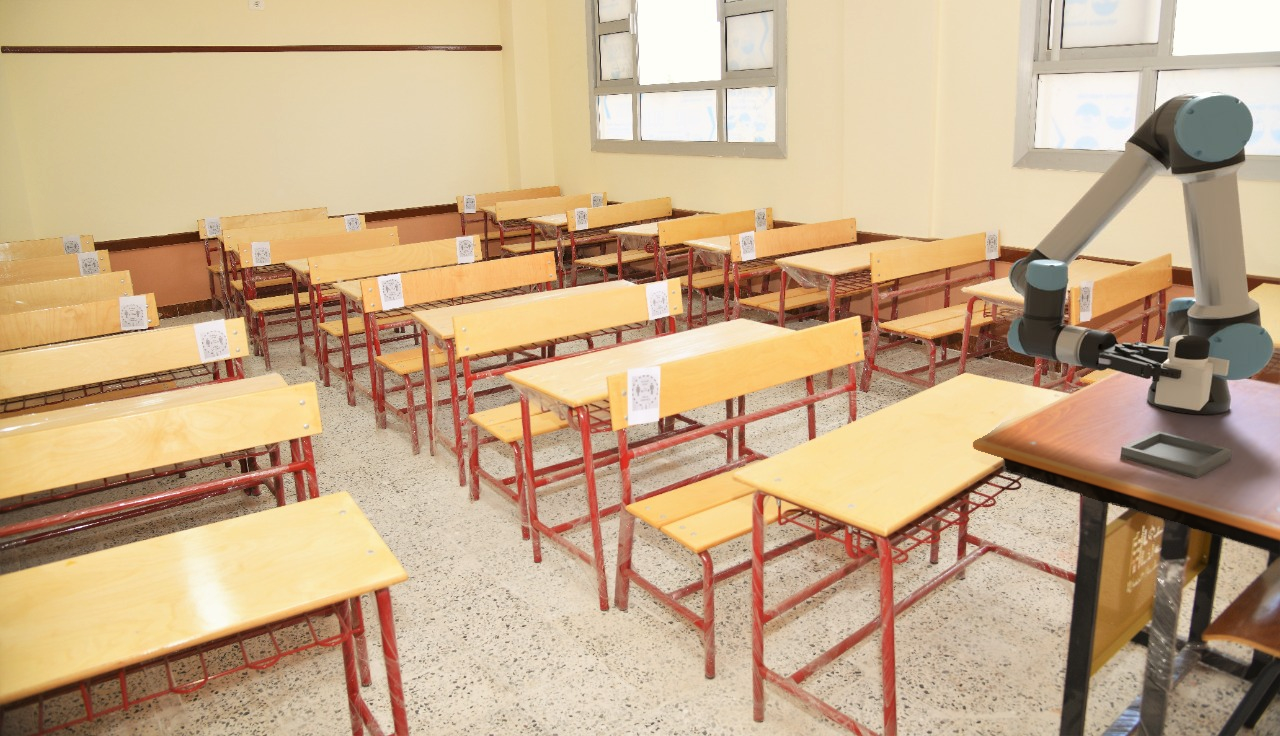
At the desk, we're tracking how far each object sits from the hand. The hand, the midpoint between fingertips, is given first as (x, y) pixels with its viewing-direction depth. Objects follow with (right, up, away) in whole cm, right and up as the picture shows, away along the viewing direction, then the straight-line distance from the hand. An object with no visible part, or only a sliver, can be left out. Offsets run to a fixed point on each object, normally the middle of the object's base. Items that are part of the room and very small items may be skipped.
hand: (1215, 373), depth 153 cm
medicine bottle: (-2, -6, +6) cm, 8 cm away
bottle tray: (-2, -16, +8) cm, 18 cm away
